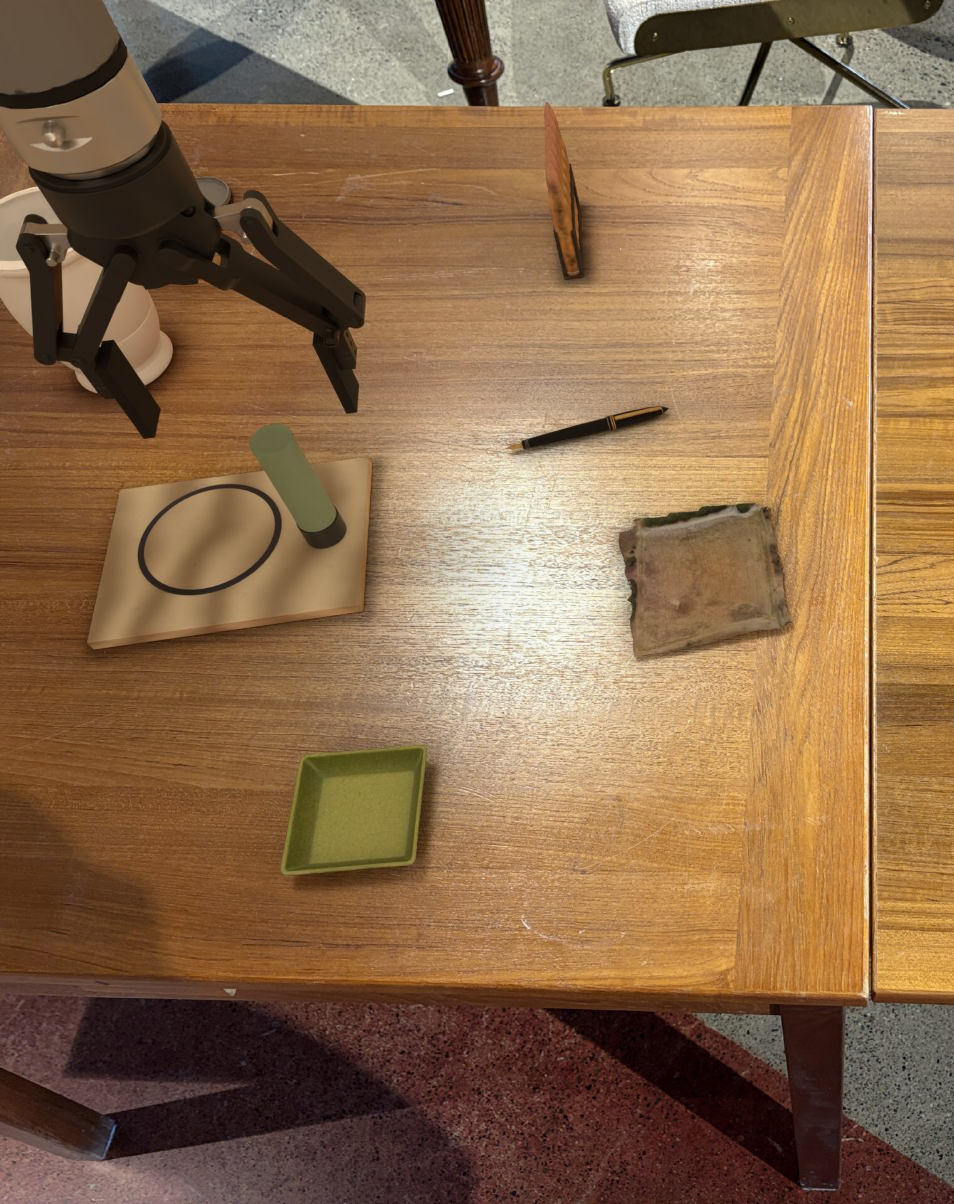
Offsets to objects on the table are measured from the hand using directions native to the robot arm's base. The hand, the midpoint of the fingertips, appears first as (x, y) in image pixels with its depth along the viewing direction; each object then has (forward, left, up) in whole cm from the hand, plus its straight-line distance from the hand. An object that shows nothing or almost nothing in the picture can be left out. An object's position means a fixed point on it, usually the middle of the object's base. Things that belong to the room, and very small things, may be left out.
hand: (253, 411), depth 81 cm
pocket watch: (-17, +46, -15) cm, 51 cm away
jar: (-19, +23, -15) cm, 34 cm away
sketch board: (-7, 0, -14) cm, 16 cm away
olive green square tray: (+4, -25, -15) cm, 30 cm away
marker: (0, 0, -13) cm, 13 cm away
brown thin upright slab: (+21, +33, -15) cm, 42 cm away
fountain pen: (+21, +7, -15) cm, 27 cm away
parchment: (+29, -9, -15) cm, 34 cm away
